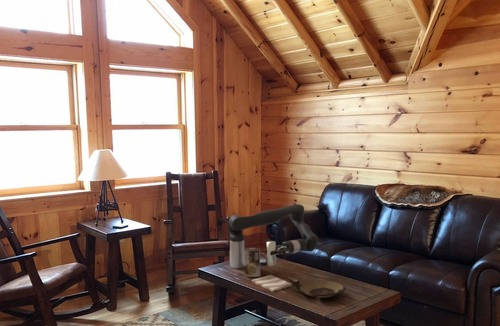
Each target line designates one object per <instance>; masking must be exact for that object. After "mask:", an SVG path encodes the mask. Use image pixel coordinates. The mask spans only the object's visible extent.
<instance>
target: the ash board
mask: <svg viewBox="0 0 500 326" xmlns="http://www.w3.org/2000/svg"><path fill="white" fill-rule="evenodd" d="M251 282H252V283H253V284H255V285H257V286H259V285H260V286H259V287H262V288H264V289H266V290H268V291H270V292H275V290H276V291H279V290H283V289H286V288H289V287H293V286H292V285H293V284H292V283H291V282H288V281H286V280H284V279H281V278H280V277H276V276H274V275H271V274H270V275H265V276H263V277H262V276H260V277H259V278H258V277H257V278H254V279H251ZM282 288H283V289H282Z"/></svg>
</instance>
